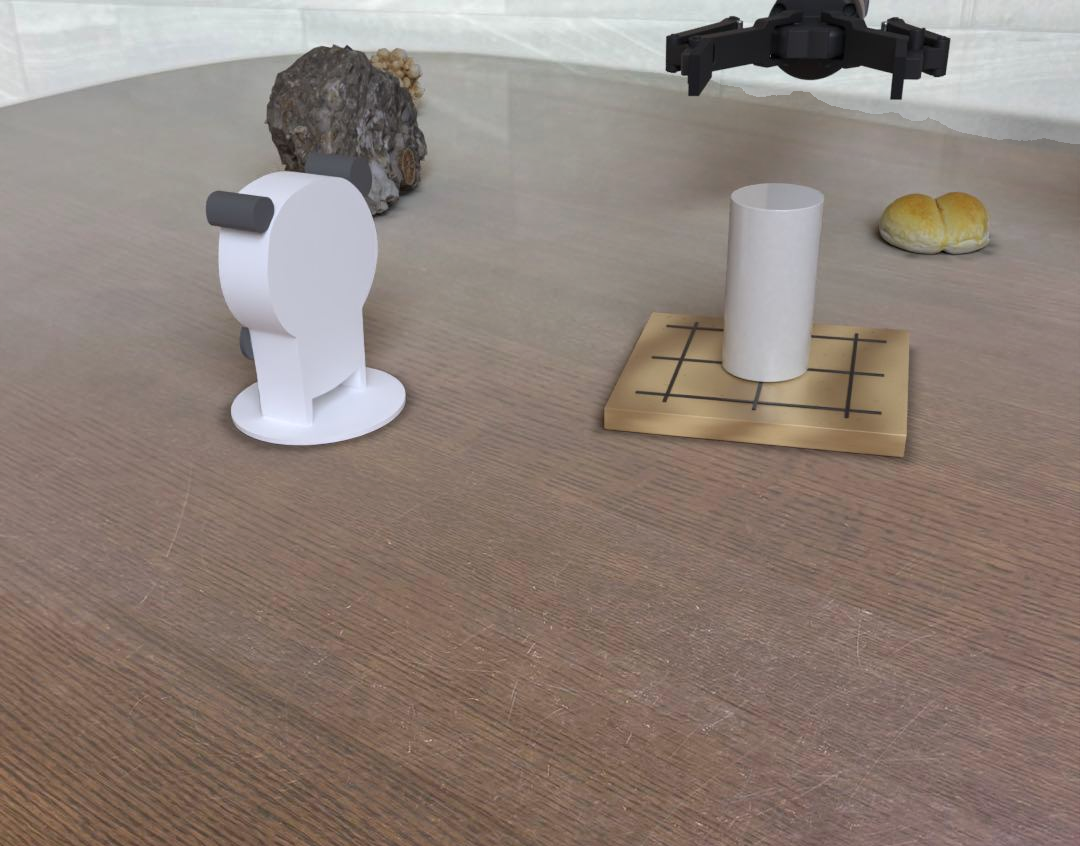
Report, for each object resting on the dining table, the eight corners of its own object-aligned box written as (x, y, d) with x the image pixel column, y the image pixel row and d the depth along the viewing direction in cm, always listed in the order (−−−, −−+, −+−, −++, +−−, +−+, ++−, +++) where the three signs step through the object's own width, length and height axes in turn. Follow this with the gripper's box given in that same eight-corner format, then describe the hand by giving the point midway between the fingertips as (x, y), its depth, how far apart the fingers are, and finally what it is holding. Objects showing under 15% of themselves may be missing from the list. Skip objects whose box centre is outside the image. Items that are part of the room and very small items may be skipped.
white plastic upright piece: (308, 355, 86) (277, 141, 78) (443, 382, 81) (425, 157, 73) (195, 424, 77) (147, 191, 69) (339, 459, 73) (305, 213, 65)
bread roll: (875, 225, 107) (880, 179, 104) (981, 227, 105) (988, 181, 103) (880, 256, 100) (886, 208, 98) (993, 259, 98) (1002, 211, 96)
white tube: (812, 350, 80) (827, 185, 74) (804, 385, 75) (821, 212, 70) (727, 344, 81) (736, 181, 75) (715, 378, 77) (724, 207, 71)
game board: (907, 350, 84) (910, 328, 83) (903, 457, 71) (907, 433, 70) (651, 331, 88) (651, 310, 87) (603, 429, 75) (603, 406, 74)
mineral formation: (436, 108, 150) (384, 129, 137) (342, 122, 154) (284, 143, 142) (422, 39, 146) (368, 54, 134) (327, 55, 151) (266, 72, 139)
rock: (400, 23, 103) (260, -17, 108) (328, 175, 102) (190, 127, 107) (469, 130, 120) (346, 91, 125) (409, 260, 119) (287, 216, 124)
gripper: (968, 74, 98) (979, 138, 80) (664, 70, 104) (613, 129, 86) (983, -28, 94) (997, 17, 76) (666, -26, 100) (613, 16, 82)
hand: (794, 77), depth 81 cm, fingers open, 13 cm apart
